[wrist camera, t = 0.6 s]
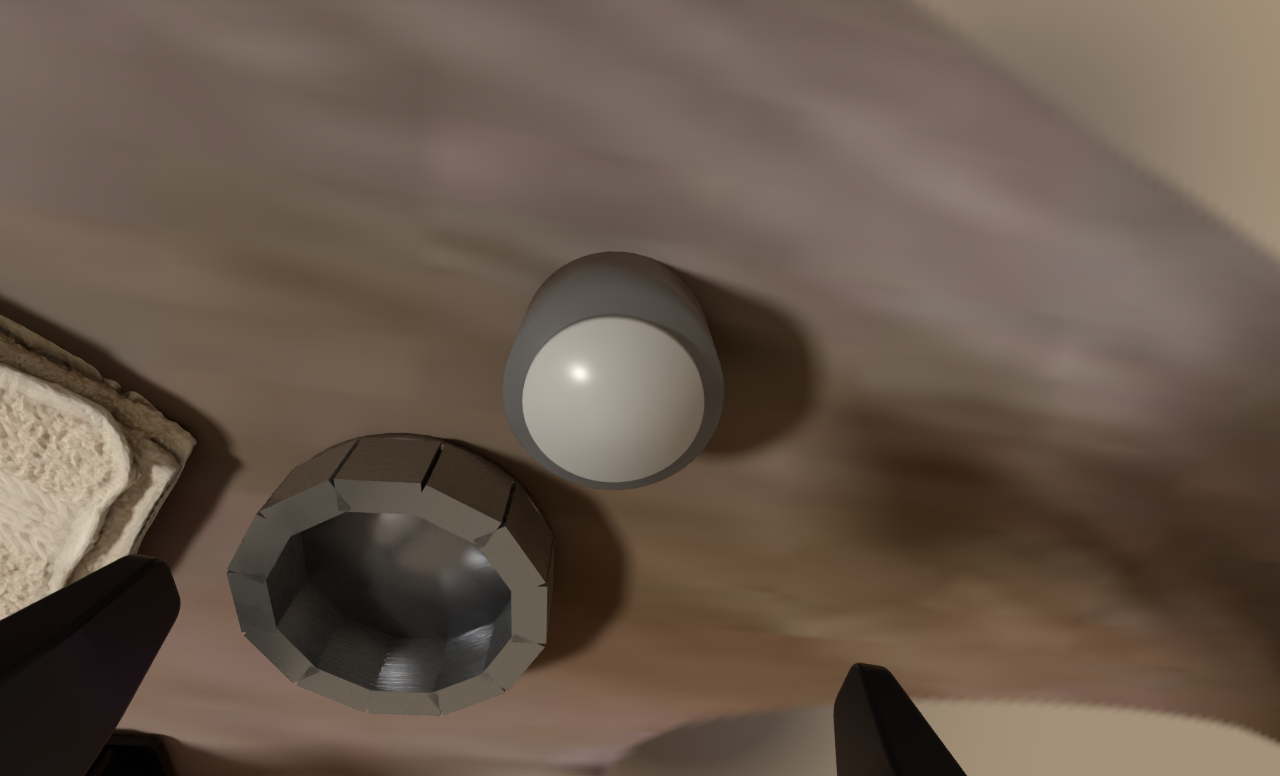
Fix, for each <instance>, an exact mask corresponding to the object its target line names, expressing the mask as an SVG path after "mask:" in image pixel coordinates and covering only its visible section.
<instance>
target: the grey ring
mask: <svg viewBox="0 0 1280 776" xmlns="http://www.w3.org/2000/svg"><path fill="white" fill-rule="evenodd" d="M554 563H555V553H554V539H553V534H552V532H551V530H550V527H549V525H548V522H547V520H546V517H545V515H544V514H543V512H542V510H541V508H540V507H539V505H538V503H537V502H536V500H535V499H534V498H533V496H532V495H531V494H530V493H529V491H528V490H527V489H526V488H525V487H524V486H523V485H522V484H521V483H520V482H519V481H518V480H517V479H516V478H515V477H514V476H513V475H512V474H510V473H509V472H508V471H506V470H505V469H504V468H503V467H501V466H500V465H499V464H497V463H495V462H494V461H492V460H490V459H489V458H487V457H485V456H484V455H482V454H480V453H478V452H476V451H473V450H471V449H469V448H467V447H465V446H462V445H459V444H456V443H453V442H450V441H447V440H443V439H439V438H434V437H430V436H424V435H415V434H406V433H387V434H377V435H369V436H363V437H359V438H355V439H351V440H347V441H345V442H342V443H340V444H337V445H334V446H332V447H330V448H328V449H326V450H324V451H323V452H321V453H319V454H317V455H316V456H314V457H313V458H312V459H310V460H309V461H308V462H306V463H304V464H302V465H299V466H297V467H295V469H294V470H292V471H291V472H290V474H289V475H288V476H287V477H286V479H285V480H284V481H283V482H282V483H281V485H280V486H279V487H278V488H277V489H276V491H275V492H274V493H273V494H272V496H271V497H270V498H269V499H268V500H267V502H266V503H265V504H264V505H263V506H262V508H261V509H260V510H259V511H258V513H257V514H256V515H255V517H254V519H253V521H252V523H251V525H250V527H249V529H248V531H247V532H246V534H245V536H244V538H243V540H242V542H241V544H240V546H239V548H238V549H237V551H236V553H235V555H234V557H233V559H232V561H231V563H230V565H229V567H228V568H227V569H229V571H228V572H227V576H228V580H229V584H230V588H231V592H232V596H233V600H234V604H235V607H236V611H237V615H238V619H239V623H240V627H241V631H242V632H246V633H245V635H244V636H245V637H246V638H247V639H248V640H249V641H250V642H251V643H252V644H253V645H254V646H255V647H256V648H257V649H258V650H259V651H261V652H262V653H263V654H264V655H265V656H266V657H267V658H268V659H269V660H270V661H271V662H272V663H273V664H274V665H275V666H276V667H277V668H278V669H279V670H280V671H281V672H282V673H283V674H284V675H285V676H286V677H287V678H288V679H289V680H290V681H291V682H292V683H294V682H296V681H299V680H300V681H299V682H298V684H297V686H299V687H302V688H304V689H307V690H310V691H312V692H315V693H317V694H320V695H322V696H325V697H327V698H330V699H332V700H335V701H337V702H340V703H342V704H345V705H347V706H350V707H352V708H355V709H357V710H360V711H362V712H365V711H366V709H367V708H368V709H369V713H374V714H403V715H433V716H440V714H441V711H442V713H443V714H444V715H446V714H449V713H451V712H454V711H457V710H460V709H462V708H465V707H468V706H470V705H473V704H476V703H479V702H481V701H484V700H487V699H490V698H492V697H495V696H498V695H500V694H503V693H505V690H509V689H510V688H511V687H512V686H513V684H514V683H515V682H516V681H517V680H518V678H519V677H520V676H521V675H522V674H523V673H524V671H525V670H526V669H527V668H528V667H529V665H530V664H531V663H532V662H533V661H534V659H535V658H536V657H537V656H538V655H539V653H540V652H541V651H542V650H543V649H544V648H545V644H546V642H547V635H548V627H549V620H550V613H551V605H552V598H553V582H554Z"/></svg>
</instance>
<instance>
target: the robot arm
mask: <svg viewBox="0 0 1280 776" xmlns="http://www.w3.org/2000/svg"><path fill="white" fill-rule="evenodd" d="M179 610H180V596H179V593H178V590H177V587H176V585H175V582H174V579H173V576H172V573H171V570H170V567H169V565H168V563H167V562H166V561H165V560H164V559H163V558H160V557H154V556H147V555H141V554H130V555H126V556H124V557H121V558H119V559H117V560H115V561H113V562H111V563H109V564H108V565H106V566H104V567H102V568H100V569H98V570H96V571H94V572H92V573H90V574H88V575H86V576H84V577H82V578H81V579H79V580H77V581H75V582H73V583H71V584H69V585H67V586H65V587H63V588H61V589H59V590H57V591H55V592H54V593H52V594H50V595H48V596H46V597H44V598H42V599H40V600H38V601H36V602H34V603H32V604H30V605H28V606H26V607H25V608H23V609H21V610H19V611H17V612H15V613H13V614H11V615H9V616H7V617H5V618H3V619H1V620H0V776H174V774H173V771H172V769H171V766H170V763H169V760H168V757H167V755H166V752H165V749H164V746H163V744H162V743H161V742H160V741H159V740H157V739H154V738H150V737H123V736H111V735H112V733H113V732H114V730H115V728H116V727H117V725H118V723H119V721H120V720H121V718H122V716H123V715H124V713H125V711H126V709H127V707H128V706H129V704H130V702H131V700H132V698H133V697H134V695H135V693H136V691H137V689H138V688H139V686H140V684H141V682H142V680H143V679H144V677H145V675H146V673H147V671H148V670H149V668H150V666H151V664H152V662H153V660H154V659H155V657H156V655H157V653H158V651H159V650H160V648H161V646H162V644H163V642H164V641H165V639H166V637H167V635H168V633H169V632H170V630H171V628H172V626H173V624H174V622H175V621H176V619H177V616H178V613H179ZM834 733H835V749H836V765H837V776H967V775H966V774H965V772H964V771H963V770H962V768H961V767H960V766H959V764H958V763H957V761H956V760H955V759H954V758H953V756H952V755H951V753H950V752H949V751H948V750H947V748H946V747H945V745H944V744H943V742H942V741H941V740H940V738H939V737H938V736H937V734H936V733H935V732H934V730H933V729H932V728H931V726H930V725H929V724H928V722H927V721H926V720H925V718H924V717H923V715H922V714H921V713H920V711H919V710H918V709H917V707H916V706H915V704H914V703H913V702H912V700H911V699H910V698H909V696H908V695H907V694H906V692H905V691H904V690H903V688H902V687H901V685H900V684H899V683H898V681H897V680H896V679H895V677H894V676H893V675H892V673H891V672H890V671H889V670H888V669H886V668H885V667H882V666H878V665H871V664H864V663H856V664H854V665H853V666H852V667H851V668H850V670H849V672H848V674H847V676H846V678H845V681H844V683H843V685H842V687H841V689H840V691H839V693H838V695H837V697H836V700H835V704H834Z"/></svg>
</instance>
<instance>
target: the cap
mask: <svg viewBox="0 0 1280 776" xmlns="http://www.w3.org/2000/svg"><path fill="white" fill-rule="evenodd" d="M502 392H503V403H504V408H505V412H506V416H507V419H508V422H509V424H510V427H511V429H512V431H513V433H514V434H515V436H516V438H517V440H518V441H519V443H520V444H521V445H522V447H523V448H524V449H525V451H526V452H527V453H528V454H529V455H530V456H531V457H532V458H533V459H534V460H535V461H537V462H538V463H539V464H540V465H542V466H543V467H544V468H545V469H547V470H549V471H550V472H552V473H553V474H555V475H557V476H559V477H561V478H563V479H565V480H567V481H570V482H573V483H576V484H579V485H582V486H586V487H591V488H597V489H606V490H623V489H632V488H638V487H642V486H647V485H650V484H653V483H656V482H659V481H661V480H663V479H665V478H667V477H670V476H672V475H673V474H675V473H677V472H678V471H680V470H681V469H683V468H684V467H686V466H687V465H688V464H689V463H690V462H692V461H693V460H694V459H695V458H696V457H697V456H698V455H699V454H700V453H701V452H702V451H703V449H704V448H705V447H706V445H707V444H708V442H709V441H710V440H711V438H712V436H713V434H714V432H715V430H716V428H717V426H718V423H719V420H720V418H721V414H722V409H723V405H724V392H725V390H724V378H723V373H722V369H721V365H720V361H719V358H718V355H717V352H716V349H715V346H714V343H713V339H712V336H711V333H710V330H709V327H708V324H707V320H706V317H705V314H704V312H703V309H702V306H701V304H700V302H699V300H698V298H697V297H696V295H695V293H694V292H693V291H692V289H691V288H690V287H689V285H688V284H687V283H686V282H685V281H684V280H683V279H682V278H681V277H680V276H679V275H678V274H677V273H675V272H674V271H673V270H671V269H670V268H669V267H667V266H665V265H663V264H662V263H660V262H658V261H656V260H653V259H651V258H648V257H646V256H642V255H638V254H635V253H627V252H602V253H595V254H591V255H588V256H584V257H581V258H579V259H576V260H574V261H572V262H570V263H568V264H566V265H565V266H563V267H561V268H560V269H559V270H557V271H556V272H555V273H553V274H552V275H551V276H550V277H549V278H548V279H547V280H546V281H545V282H544V283H543V284H542V285H541V287H540V288H539V289H538V291H537V292H536V294H535V295H534V297H533V299H532V301H531V303H530V305H529V308H528V310H527V313H526V315H525V318H524V320H523V323H522V325H521V328H520V330H519V333H518V335H517V338H516V340H515V343H514V345H513V348H512V350H511V353H510V355H509V358H508V361H507V364H506V367H505V372H504V377H503V390H502Z"/></svg>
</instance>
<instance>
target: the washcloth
mask: <svg viewBox="0 0 1280 776" xmlns="http://www.w3.org/2000/svg"><path fill="white" fill-rule="evenodd" d="M63 362H66V363H68V364H69V365H70V367H67V366H66V365H65V364H64V363H63ZM102 379H103V380H105V381H104V382H103V383H102V382H101V381H102ZM120 389H121V387H120V385H119V384H118V383H117V382H116V381H113V380H109V379H106V378H102V377H101V375H100V373H99V371H98V370H96V369H95V368H94V367H93V366H92V365H90V364H88V363H86V362H85V361H84V360H83V359H81V358H79V357H77V356H74V355H72V354H70V353H69V352H67V351H66V350H64V349H62V348H60V347H58V346H57V345H55V344H54V343H52V342H50V341H48V340H46V339H45V338H43V337H41V336H40V335H38V334H36V333H34V332H32V331H30V330H28V329H27V328H25V327H24V326H22V325H20V324H17V323H15V322H13V321H12V320H10V319H8V318H6V317H4V316H2V315H0V620H1V619H3V618H5V617H7V616H9V615H11V614H13V613H15V612H17V611H19V610H21V609H23V608H25V607H26V606H28V605H30V604H32V603H34V602H36V601H38V600H40V599H42V598H44V597H46V596H48V595H50V594H52V593H54V592H55V591H57V590H59V589H61V588H63V587H65V586H67V585H69V584H71V583H73V582H75V581H77V580H79V579H81V578H82V577H84V576H86V575H88V574H90V573H92V572H94V571H96V570H98V569H100V568H102V567H104V566H106V565H108V564H109V563H111V562H113V561H115V560H117V559H119V558H121V557H124V556H126V555H130V554H137V552H138V549H139V547H140V545H141V541H142V540H143V537H144V536H145V534H146V531H147V530H148V528H149V527H150V525H151V524H152V522H153V521H154V519H155V517H156V516H157V514H158V511H159V509H160V508H161V506H162V504H163V503H164V501H165V500H166V498H167V496H168V495H169V493H170V492H171V490H172V489H173V487H174V486H175V484H176V483H177V481H178V478H179V476H180V474H181V472H182V470H183V468H184V466H185V462H186V461H187V459H188V457H189V455H190V454H191V453H192V449H193V447H194V446H195V445H196V439H195V438H193V437H192V435H191V434H190V433H189V432H187V431H185V430H184V429H183V428H181V427H180V426H179V425H178V424H177V423H176V422H172V421H170V420H167V419H166V418H165V417H164V416H163V415H162V413H161V412H159V411H158V410H157V409H156V408H155V407H154V406H153V405H152V404H151V403H150V402H149V401H147V400H146V399H145V398H144V397H143V396H141V395H140V394H138V393H136V392H134V391H130V392H127V393H124V394H122V393H121V392H120Z"/></svg>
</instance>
